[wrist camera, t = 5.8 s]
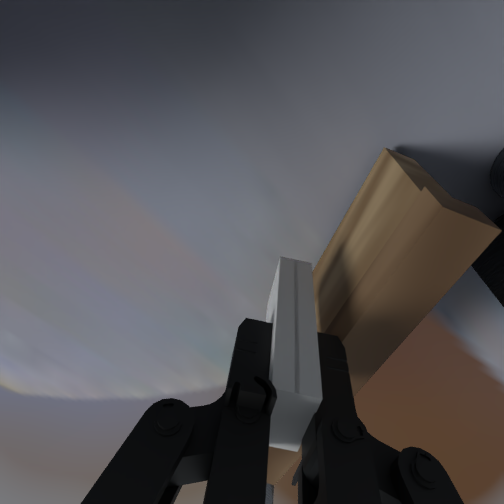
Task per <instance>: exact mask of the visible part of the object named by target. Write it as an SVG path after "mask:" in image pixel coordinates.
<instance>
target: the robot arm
mask: <svg viewBox="0 0 504 504" xmlns="http://www.w3.org/2000/svg"><path fill="white" fill-rule="evenodd" d="M301 443H302V460H301V462H300V464H299V466H298V468H297V470H296V472H295V474H294V476H293V480H292V485H294V486H295V485H296V483H297V481H298V504H464V503H463V501H462V499H461V498H460V496H459V494H458V492H457V490H456V489H455V487H454V485H453V483H452V481H451V479H450V478H449V476H448V474H447V472H446V471H445V469H444V468H443V466H442V465H441V464H440V462H439V461H438V460H437V459H436V458H434V457H433V456H432V455H431V454H430V453H428V452H426V451H424V450H422V449H421V448H416V447H408V448H405V449H403V450H402V451H401V452H399V451H397V450H395V449H393V448H392V447H390V446H388V445H386V444H384V443H382V442H380V441H378V440H377V439H376V438H374V437H373V436H371V435H370V434H369V433H368V432H367V430H366V427H365V425H364V424H363V423H362V422H361V420H360V419H359V418H358V417H357V413H356V409H355V404H354V398H353V392H352V386H351V380H350V374H349V368H348V363H347V356H346V350H345V347H344V345H343V344H342V342H341V341H340V339H339V337H338V336H335V335H330V334H325V333H320V332H317V324H316V312H315V300H314V288H313V276H312V264H311V263H308V262H304V261H299V260H294V259H289V258H284V257H280V259H279V263H278V267H277V271H276V274H275V278H274V282H273V286H272V289H271V293H270V297H269V301H268V305H267V315H266V322H263V321H258V320H254V319H249V318H246V319H245V320H244V321H243V322H242V323H241V325H240V326H239V327H238V332H237V337H236V341H235V346H234V351H233V355H232V360H231V366H230V371H229V376H228V381H227V386H226V390H225V392H224V394H223V395H222V397H220V398H219V399H218V400H217V401H215V402H213V403H211V404H209V405H204V406H198V407H189V406H188V405H187V404H185V403H184V402H183V401H181V400H177V399H173V398H170V399H162V400H160V401H158V402H156V403H154V404H153V405H152V406H151V407H150V408H148V410H147V411H146V412H145V413H144V415H143V416H142V417H141V419H140V420H139V422H138V423H137V425H136V426H135V427H134V429H133V430H132V432H131V433H130V435H129V436H128V437H127V439H126V440H125V442H124V443H123V444H122V446H121V447H120V449H119V450H118V451H117V453H116V454H115V456H114V457H113V459H112V460H111V462H110V463H109V464H108V466H107V467H106V468H105V470H104V471H103V473H102V474H101V476H100V477H99V479H98V480H97V481H96V483H95V484H94V486H93V487H92V488H91V490H90V491H89V493H88V494H87V495H86V497H85V498H84V500H83V501H82V503H81V504H174V502H175V500H176V497H177V495H178V493H179V491H180V489H181V487H182V485H184V484H190V483H196V482H201V481H206V480H208V481H207V487H206V491H205V496H204V501H203V504H265V499H266V484H267V468H268V452H269V446H271V447H276V448H281V449H286V450H290V451H295V452H298V450H299V448H300V445H301Z"/></svg>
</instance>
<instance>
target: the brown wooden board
mask: <svg viewBox="0 0 504 504" xmlns="http://www.w3.org/2000/svg"><path fill="white" fill-rule="evenodd" d="M501 231H502V230H501V229H500V228H499V227H497V226H496V225H495V224H494V223H493V222H492V221H491V220H490V219H489V218H488V217H487V216H486V215H484V214H483V213H482V212H481V211H480V210H479V209H478V208H477V207H475V206H472V205H470V204H467V203H465V202H462V201H460V200H457V199H455V198H452V197H451V196H450V195H449V194H448V193H447V192H446V191H445V190H444V189H443V188H442V187H441V186H440V185H439V184H438V183H437V182H436V181H435V180H434V179H433V178H432V177H431V176H430V175H429V174H428V173H427V172H426V171H425V170H424V169H423V168H422V167H421V166H420V165H419V164H418V163H417V162H416V161H415V160H414V159H412V158H409V157H407V156H404V155H402V154H399V153H397V152H394V151H392V150H390V149H387V148H385V147H384V149H383V151H382V152H381V154H380V156H379V158H378V159H377V161H376V163H375V164H374V166H373V168H372V170H371V171H370V173H369V175H368V177H367V178H366V180H365V182H364V184H363V185H362V187H361V189H360V190H359V192H358V194H357V196H356V197H355V199H354V201H353V203H352V204H351V206H350V208H349V210H348V211H347V213H346V215H345V217H344V218H343V220H342V222H341V223H340V225H339V227H338V229H337V230H336V232H335V234H334V236H333V237H332V239H331V241H330V243H329V244H328V246H327V248H326V250H325V251H324V253H323V255H322V256H321V258H320V260H319V262H318V263H317V265H316V267H315V269H314V270H313V272H312V276H313V288H314V300H315V312H316V324H317V332H320V333H325V334H330V335H335V336H338V337H339V339H340V341H341V342H342V344H343V345H344V347H345V350H346V356H347V363H348V368H349V374H350V380H351V386H352V392H353V397H354V395H355V394H356V393H357V392H358V391H359V390H360V389H361V388H362V387H363V385H364V384H365V383H366V382H367V381H368V380H369V378H371V377H372V375H373V374H374V373H375V372H376V371H377V370H378V369H379V368H380V367H381V365H382V364H383V363H384V362H385V361H386V359H388V357H389V356H390V355H391V354H392V353H393V352H394V351H395V350H396V349H397V347H398V346H399V345H400V344H401V343H402V342H403V341H404V340H405V339H406V337H407V336H408V335H409V334H410V333H411V332H412V331H413V329H414V328H415V327H416V326H417V325H418V324H419V323H420V322H421V321H422V319H423V318H424V317H425V316H426V315H427V314H428V313H429V312H430V311H431V309H432V308H433V307H434V306H435V305H436V304H437V303H438V302H439V300H440V299H441V298H442V297H443V296H444V295H445V294H446V293H447V291H448V290H449V289H450V288H451V287H452V286H453V285H454V284H455V283H456V281H457V280H458V279H459V278H460V277H461V276H462V275H463V274H464V272H465V271H466V270H467V269H468V268H469V267H470V266H471V265H472V263H473V262H474V261H475V260H476V259H477V258H478V257H479V256H480V255H481V253H482V252H483V251H484V250H485V249H486V248H487V247H488V246H489V244H490V243H491V242H492V241H493V240H494V239H495V238H496V237H497V236H498V234H499V233H500V232H501ZM301 455H302V443H301V445H300V448H299V450H298V452H295V451H290V450H286V449H281V448H276V447H271V446H269V452H268V468H267V483H268V484H272V485H275V484H276V483H277V482H278V481H279V480H280V478H281V477H282V476H283V475H284V474H285V473H286V472H287V471H288V469H289V468H290V467H291V466H292V465H293V464H294V463H295V462H296V461H297V459H298V458H299V457H300V456H301Z"/></svg>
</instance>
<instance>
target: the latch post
mask: <svg viewBox="0 0 504 504" xmlns="http://www.w3.org/2000/svg"><path fill="white" fill-rule="evenodd" d="M490 180H491V185H492V187H493V189H494V190H495V191H496V192H497V193H498V194H499V195H500V196H502V197H503V198H504V149H503V150H502V151H501V152H500V153H499V155H498V156H497V157H496V159H495V161H494V163H493V165H492V168H491V173H490ZM493 223H494V224H495V225H496V226H497V227H499V228H500V229H501V230H502V231H501V232H500V233H499V234H498V236H497V237H496V238H495V239H494V240H493V241H492V242H491V243H490V244H489V246H488V247H487V248H486V249H485V250H484V251H483V252H482V253H481V255H480V256H479V257H478V258H477V259H476V260H475V261H474V262H473V263H472V265H471V266H472V267H473V268H474V270H475V271H476V272H477V273H478V275H479V276H480V277H481V279H482V280H483V281H484V282H485V284H486V285H487V286H488V288H489V289H490V290H491V291H492V293H493V294H494V295H495V297H496V298H497V299H498V300H499V302H500V303H501V304H502V306H503V307H504V215H502V216H501V217H500V218H498V219H497V220H496V221H494V222H493Z"/></svg>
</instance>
